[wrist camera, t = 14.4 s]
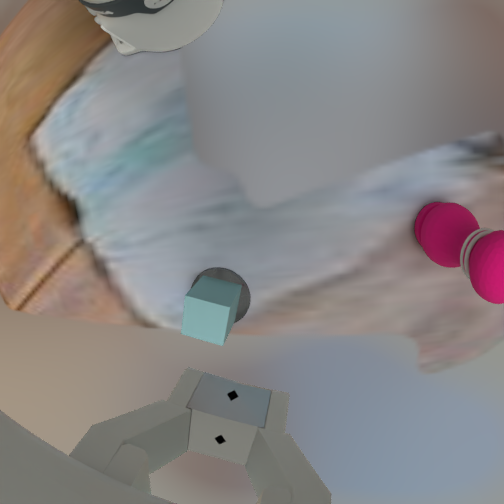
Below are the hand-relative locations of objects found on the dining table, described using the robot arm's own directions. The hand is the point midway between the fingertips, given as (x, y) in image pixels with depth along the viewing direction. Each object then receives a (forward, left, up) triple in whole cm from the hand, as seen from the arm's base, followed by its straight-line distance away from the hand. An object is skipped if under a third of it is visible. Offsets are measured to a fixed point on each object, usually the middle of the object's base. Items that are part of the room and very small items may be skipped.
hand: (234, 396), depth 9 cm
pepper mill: (+12, +14, -31) cm, 36 cm away
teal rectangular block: (+3, -14, -30) cm, 34 cm away
